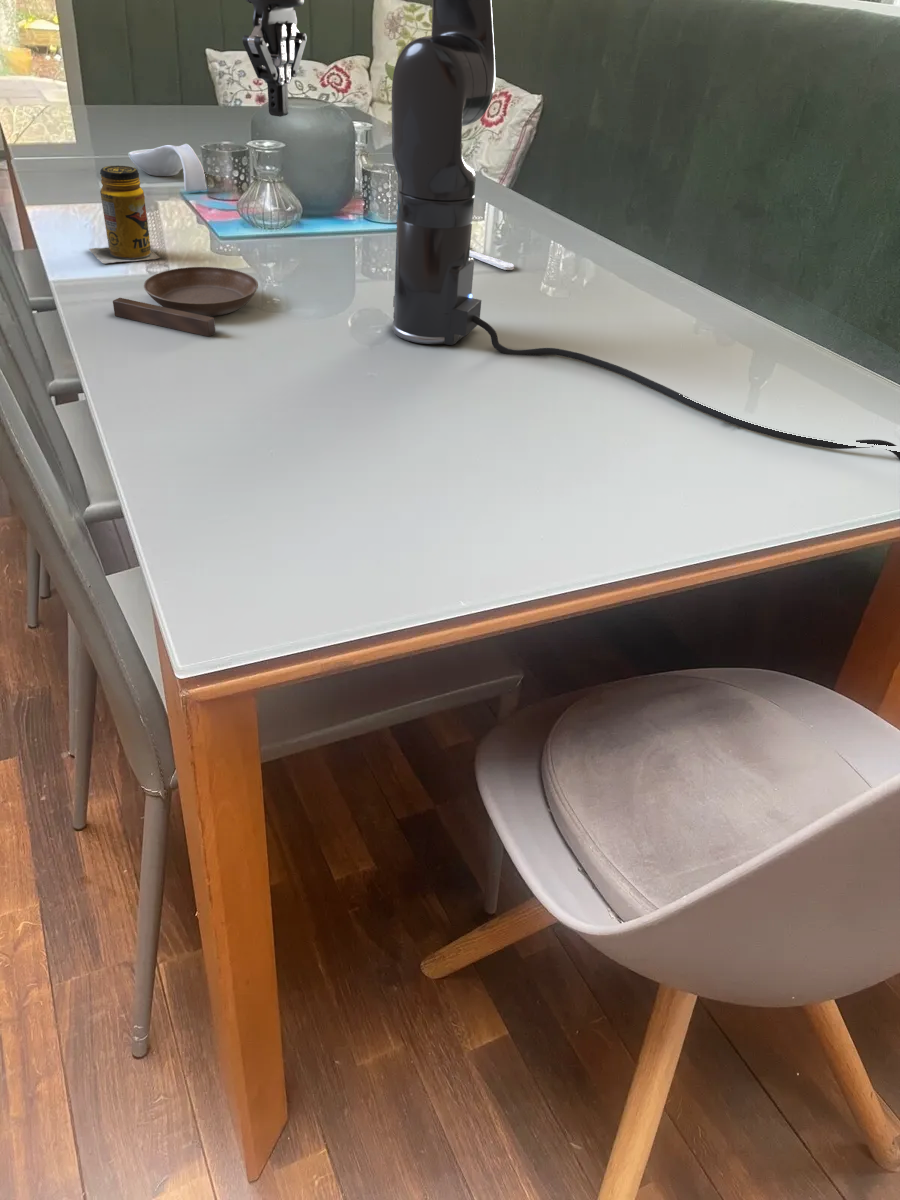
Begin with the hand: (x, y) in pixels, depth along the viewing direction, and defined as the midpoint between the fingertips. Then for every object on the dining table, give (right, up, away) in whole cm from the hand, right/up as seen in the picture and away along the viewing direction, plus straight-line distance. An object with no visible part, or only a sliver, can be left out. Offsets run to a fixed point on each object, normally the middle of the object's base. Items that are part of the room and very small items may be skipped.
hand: (278, 115), depth 121 cm
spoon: (+27, -9, +27) cm, 39 cm away
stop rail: (-13, -31, -8) cm, 34 cm away
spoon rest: (-31, +17, +55) cm, 65 cm away
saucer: (-10, -26, -1) cm, 28 cm away
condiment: (-26, -14, +14) cm, 33 cm away
